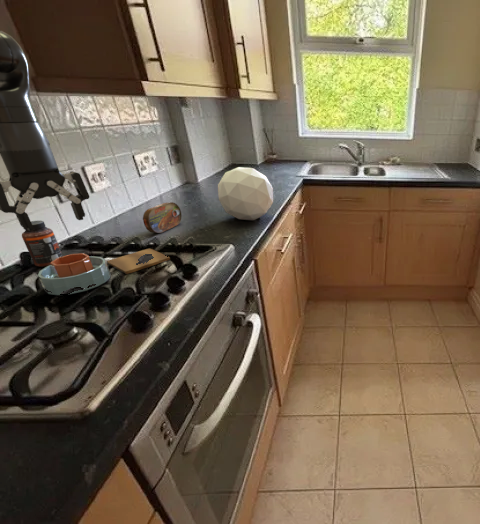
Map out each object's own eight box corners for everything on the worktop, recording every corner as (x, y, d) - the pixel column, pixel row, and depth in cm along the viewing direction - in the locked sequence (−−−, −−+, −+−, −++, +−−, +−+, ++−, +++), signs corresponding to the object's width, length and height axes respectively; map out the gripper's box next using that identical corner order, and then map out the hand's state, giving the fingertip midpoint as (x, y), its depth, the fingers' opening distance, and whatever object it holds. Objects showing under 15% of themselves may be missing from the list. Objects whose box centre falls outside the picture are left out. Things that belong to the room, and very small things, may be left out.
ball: (263, 236, 128) (274, 203, 113) (208, 221, 121) (212, 183, 107) (272, 202, 139) (283, 167, 124) (222, 186, 132) (227, 147, 118)
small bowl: (67, 291, 74) (57, 267, 72) (57, 283, 78) (47, 260, 75) (100, 280, 79) (92, 257, 77) (89, 273, 83) (81, 251, 80)
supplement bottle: (66, 262, 89) (50, 222, 84) (36, 269, 85) (17, 228, 80) (62, 256, 92) (46, 217, 88) (33, 262, 88) (15, 222, 84)
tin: (154, 236, 107) (147, 211, 104) (145, 236, 108) (138, 210, 104) (184, 222, 121) (179, 199, 117) (176, 221, 121) (171, 199, 118)
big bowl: (57, 302, 71) (49, 284, 69) (38, 286, 77) (30, 269, 75) (119, 281, 80) (114, 264, 78) (98, 268, 86) (93, 252, 84)
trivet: (126, 274, 83) (125, 271, 83) (107, 263, 89) (106, 260, 89) (170, 259, 92) (169, 257, 91) (150, 250, 97) (149, 248, 97)
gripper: (62, 142, 73) (88, 213, 80) (-33, 148, 62) (6, 230, 69) (75, 145, 69) (101, 219, 76) (-23, 151, 58) (17, 237, 65)
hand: (56, 224), depth 72 cm, fingers open, 8 cm apart
